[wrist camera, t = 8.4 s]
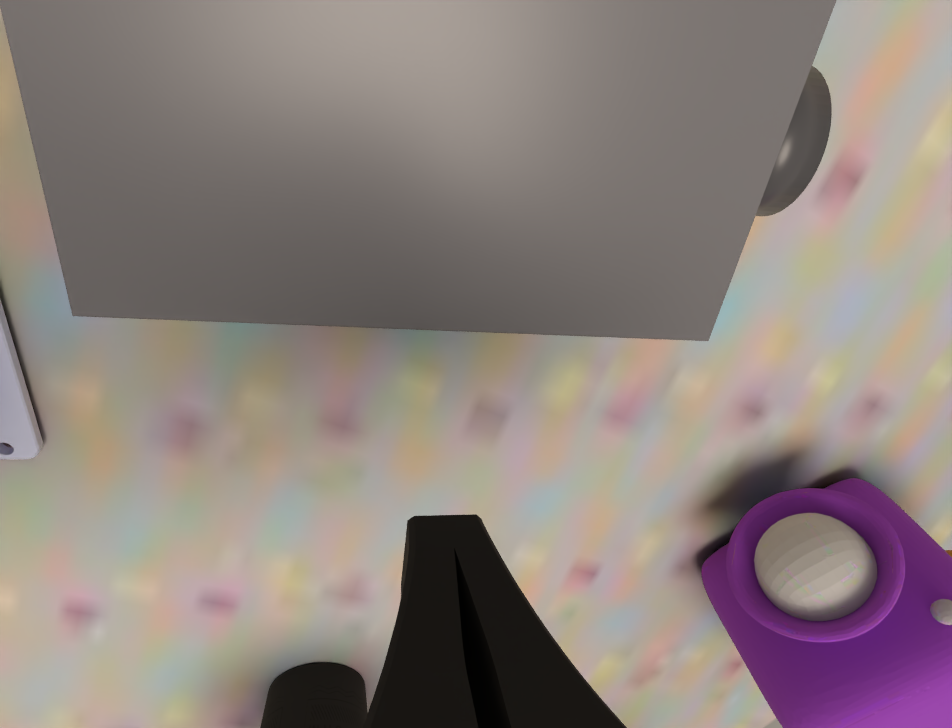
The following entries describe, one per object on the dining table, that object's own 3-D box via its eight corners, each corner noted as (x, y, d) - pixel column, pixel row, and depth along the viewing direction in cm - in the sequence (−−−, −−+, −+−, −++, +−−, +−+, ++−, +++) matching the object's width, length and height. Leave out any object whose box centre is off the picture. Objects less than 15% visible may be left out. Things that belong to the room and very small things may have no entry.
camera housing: (139, 238, 18) (72, 315, 14) (67, -218, 13) (-75, -314, 9) (681, 272, 22) (758, 343, 17) (794, -72, 16) (942, -90, 12)
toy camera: (807, 404, 26) (1017, 603, 18) (928, 527, 32) (1126, 717, 24) (621, 551, 29) (725, 778, 21) (764, 637, 36) (888, 837, 27)
